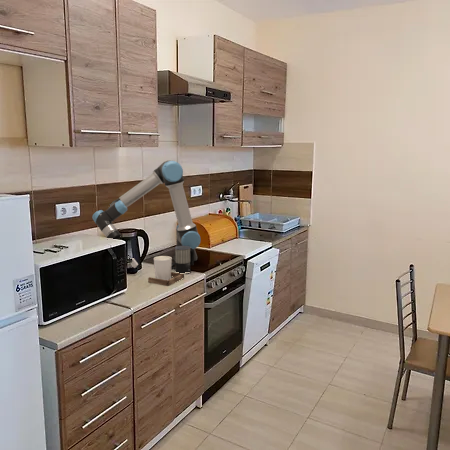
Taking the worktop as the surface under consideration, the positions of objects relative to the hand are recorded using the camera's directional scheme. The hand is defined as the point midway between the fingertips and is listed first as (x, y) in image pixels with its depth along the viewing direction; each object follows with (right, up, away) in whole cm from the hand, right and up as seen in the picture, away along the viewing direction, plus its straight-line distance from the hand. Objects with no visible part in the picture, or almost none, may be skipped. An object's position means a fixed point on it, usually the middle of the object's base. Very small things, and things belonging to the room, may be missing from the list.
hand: (136, 266), depth 241 cm
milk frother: (+23, -4, +12) cm, 26 cm away
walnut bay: (+17, -7, -8) cm, 20 cm away
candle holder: (+16, -7, -6) cm, 19 cm away
